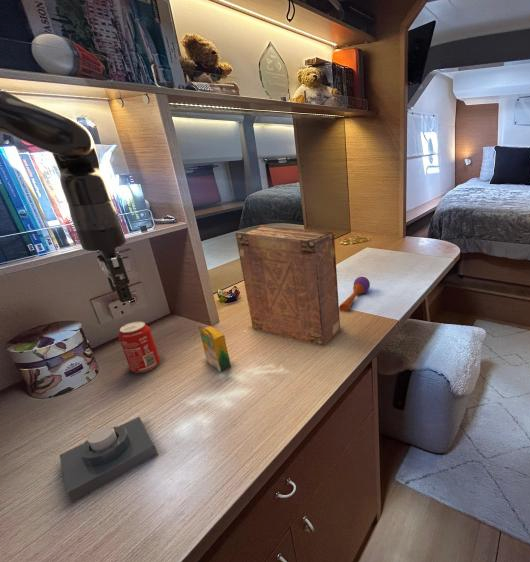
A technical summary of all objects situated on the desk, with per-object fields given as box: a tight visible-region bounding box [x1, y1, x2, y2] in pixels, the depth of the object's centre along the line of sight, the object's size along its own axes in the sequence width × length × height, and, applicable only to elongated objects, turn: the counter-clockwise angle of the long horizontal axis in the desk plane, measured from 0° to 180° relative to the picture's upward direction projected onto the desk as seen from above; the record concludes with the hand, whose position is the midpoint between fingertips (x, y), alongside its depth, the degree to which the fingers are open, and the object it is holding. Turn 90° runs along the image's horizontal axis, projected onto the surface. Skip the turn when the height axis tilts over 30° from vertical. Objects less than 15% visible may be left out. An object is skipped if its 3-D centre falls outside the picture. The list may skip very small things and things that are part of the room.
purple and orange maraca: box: [339, 276, 371, 312], centre depth 119 cm, size 6×6×20 cm
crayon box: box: [197, 323, 232, 373], centre depth 84 cm, size 7×3×12 cm, turn 50°
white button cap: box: [87, 425, 117, 452], centre depth 58 cm, size 4×4×2 cm
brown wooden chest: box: [235, 224, 341, 347], centre depth 95 cm, size 25×9×30 cm, turn 66°
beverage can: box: [118, 321, 161, 374], centre depth 83 cm, size 6×6×12 cm
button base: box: [59, 416, 159, 503], centre depth 59 cm, size 12×10×5 cm
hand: (122, 295), depth 76 cm, fingers open, 8 cm apart
